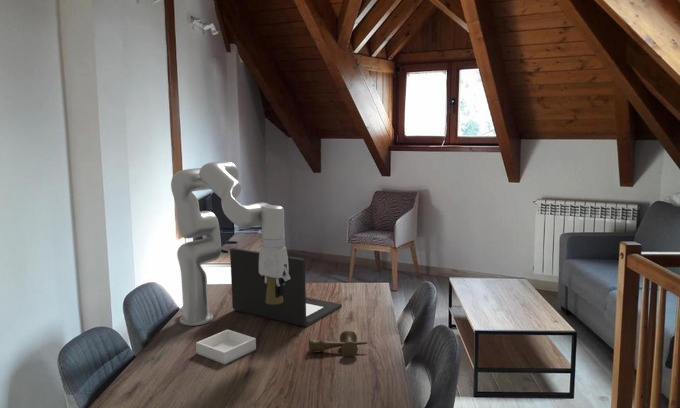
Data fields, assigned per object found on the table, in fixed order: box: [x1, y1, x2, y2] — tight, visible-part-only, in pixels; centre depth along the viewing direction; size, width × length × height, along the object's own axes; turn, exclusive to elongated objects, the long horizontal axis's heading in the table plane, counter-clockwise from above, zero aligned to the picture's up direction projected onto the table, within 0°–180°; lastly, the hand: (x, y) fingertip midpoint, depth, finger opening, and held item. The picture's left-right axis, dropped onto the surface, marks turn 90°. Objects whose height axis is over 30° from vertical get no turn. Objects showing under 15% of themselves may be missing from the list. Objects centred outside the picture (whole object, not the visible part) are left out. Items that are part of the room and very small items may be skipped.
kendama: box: [308, 329, 368, 358], centre depth 179 cm, size 6×10×20 cm
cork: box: [265, 276, 283, 304], centre depth 179 cm, size 6×6×11 cm
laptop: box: [229, 247, 343, 328], centre depth 219 cm, size 37×27×27 cm
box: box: [195, 329, 257, 365], centre depth 180 cm, size 14×14×4 cm
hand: (274, 294), depth 180 cm, fingers closed on cork, 3 cm apart
